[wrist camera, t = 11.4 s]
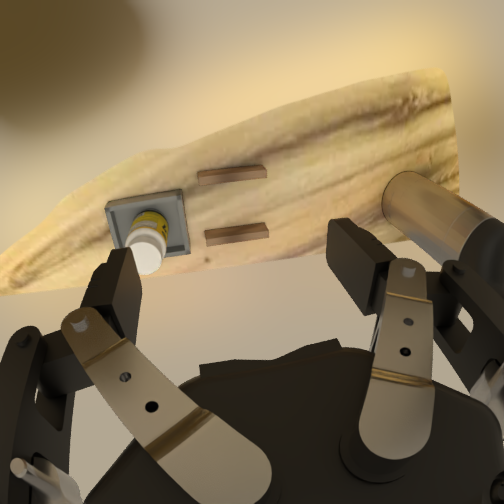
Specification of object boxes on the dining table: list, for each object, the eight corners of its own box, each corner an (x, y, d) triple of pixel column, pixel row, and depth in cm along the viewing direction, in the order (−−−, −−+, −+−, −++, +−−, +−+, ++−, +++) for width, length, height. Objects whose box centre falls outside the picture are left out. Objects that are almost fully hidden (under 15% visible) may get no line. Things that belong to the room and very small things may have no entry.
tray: (181, 189, 36) (181, 194, 35) (190, 245, 41) (190, 253, 39) (108, 201, 35) (104, 207, 33) (122, 255, 39) (119, 264, 37)
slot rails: (262, 164, 37) (266, 169, 35) (264, 229, 42) (268, 237, 39) (197, 172, 36) (198, 177, 34) (205, 237, 40) (206, 246, 38)
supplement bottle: (167, 243, 39) (164, 280, 32) (132, 240, 38) (121, 276, 31) (170, 209, 37) (166, 240, 30) (133, 206, 36) (120, 237, 28)
